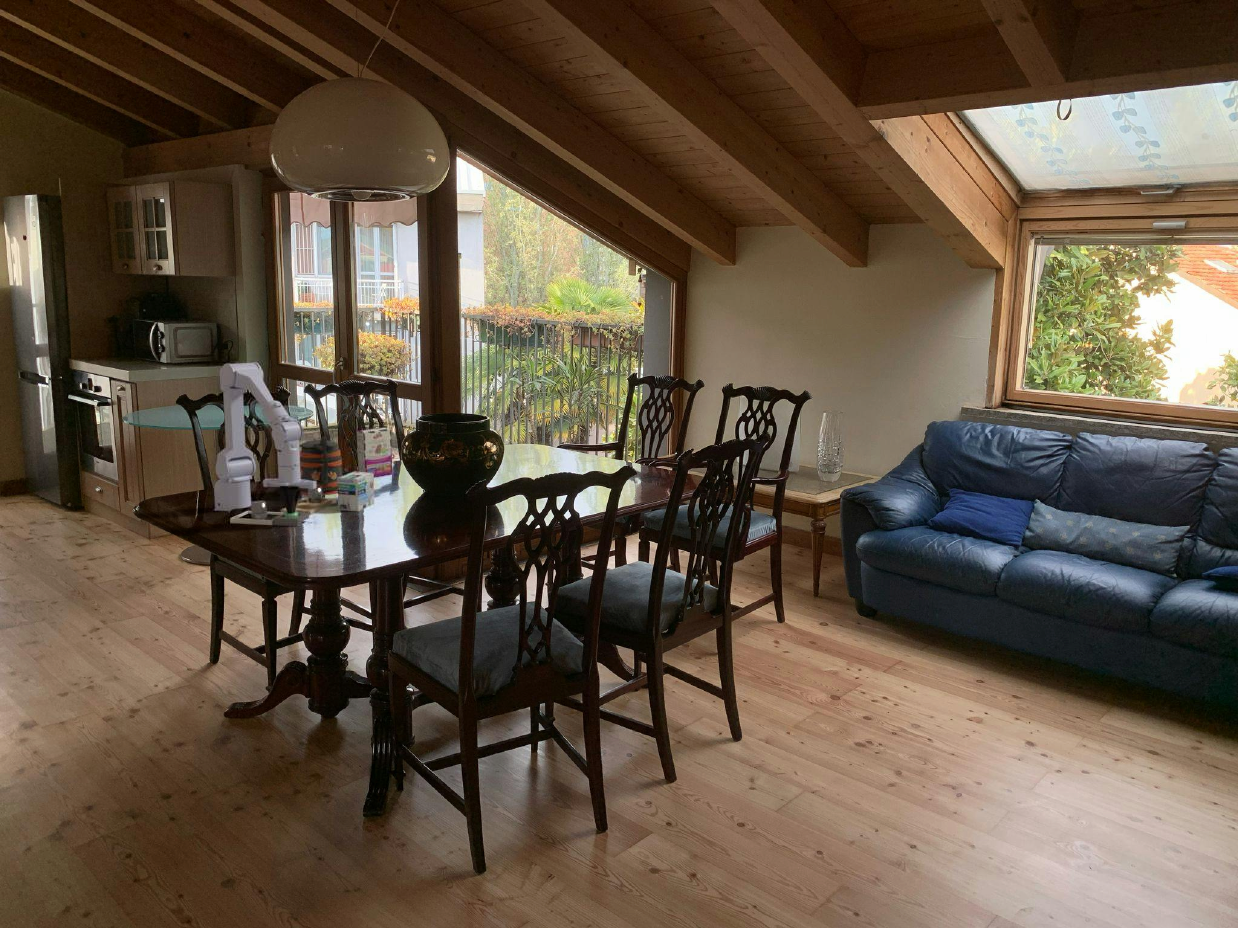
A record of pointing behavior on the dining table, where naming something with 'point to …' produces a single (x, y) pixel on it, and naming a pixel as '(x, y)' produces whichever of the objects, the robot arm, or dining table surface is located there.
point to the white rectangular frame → (253, 521)
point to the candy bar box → (375, 451)
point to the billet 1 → (259, 510)
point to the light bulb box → (355, 491)
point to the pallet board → (311, 505)
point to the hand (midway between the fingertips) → (291, 512)
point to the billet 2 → (315, 495)
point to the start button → (291, 515)
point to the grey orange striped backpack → (321, 464)
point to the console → (290, 519)
